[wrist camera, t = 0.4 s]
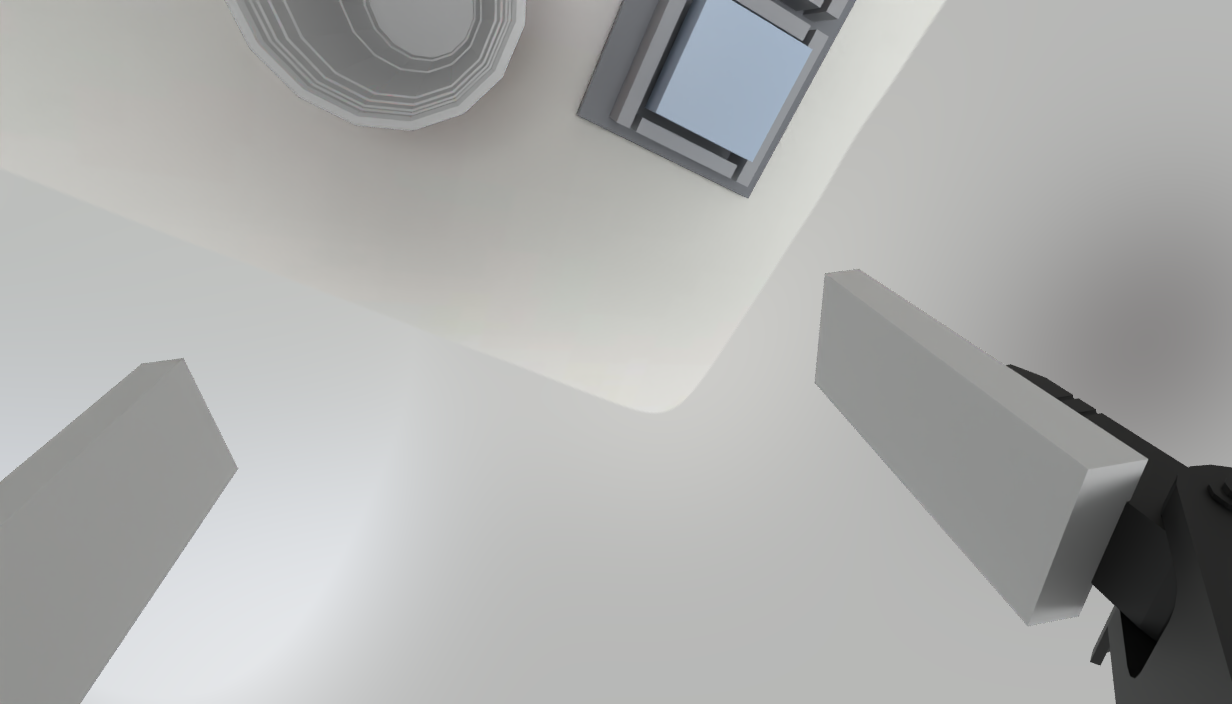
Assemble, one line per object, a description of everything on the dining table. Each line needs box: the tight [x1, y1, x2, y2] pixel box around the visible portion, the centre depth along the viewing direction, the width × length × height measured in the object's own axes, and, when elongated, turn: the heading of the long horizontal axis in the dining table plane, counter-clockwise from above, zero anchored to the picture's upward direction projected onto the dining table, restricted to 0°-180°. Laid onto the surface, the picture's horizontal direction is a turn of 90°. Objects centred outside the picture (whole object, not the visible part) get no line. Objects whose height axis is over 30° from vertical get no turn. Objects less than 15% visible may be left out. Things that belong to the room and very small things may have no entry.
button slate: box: [645, 0, 813, 162], centre depth 31 cm, size 6×6×3 cm
